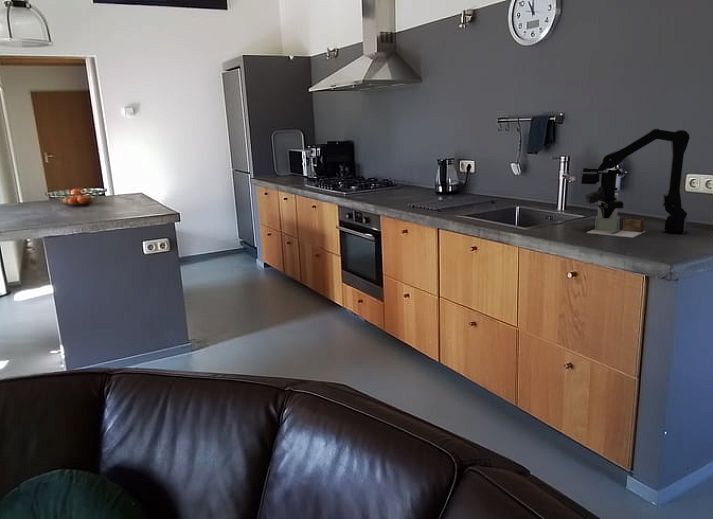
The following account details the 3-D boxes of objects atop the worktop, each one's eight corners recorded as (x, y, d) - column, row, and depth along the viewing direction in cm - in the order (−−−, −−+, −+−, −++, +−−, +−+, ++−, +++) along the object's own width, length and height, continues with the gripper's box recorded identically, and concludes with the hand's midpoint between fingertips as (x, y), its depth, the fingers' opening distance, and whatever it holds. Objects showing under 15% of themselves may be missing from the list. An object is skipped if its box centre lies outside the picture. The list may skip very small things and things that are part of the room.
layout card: (645, 231, 220) (645, 231, 220) (632, 237, 211) (632, 237, 211) (599, 227, 233) (599, 226, 233) (586, 233, 223) (586, 232, 223)
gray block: (600, 218, 255) (602, 192, 252) (619, 219, 250) (620, 193, 247) (595, 220, 249) (596, 194, 246) (614, 222, 244) (615, 195, 241)
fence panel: (618, 229, 225) (619, 215, 224) (618, 229, 224) (619, 216, 223) (594, 229, 228) (595, 215, 226) (595, 229, 227) (596, 216, 225)
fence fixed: (643, 232, 219) (644, 218, 218) (642, 233, 218) (643, 218, 217) (619, 230, 225) (620, 216, 224) (618, 230, 225) (619, 216, 223)
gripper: (580, 182, 233) (577, 218, 237) (596, 188, 215) (593, 227, 219) (606, 182, 232) (603, 218, 236) (625, 187, 214) (622, 226, 218)
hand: (605, 222), depth 227 cm, fingers closed
